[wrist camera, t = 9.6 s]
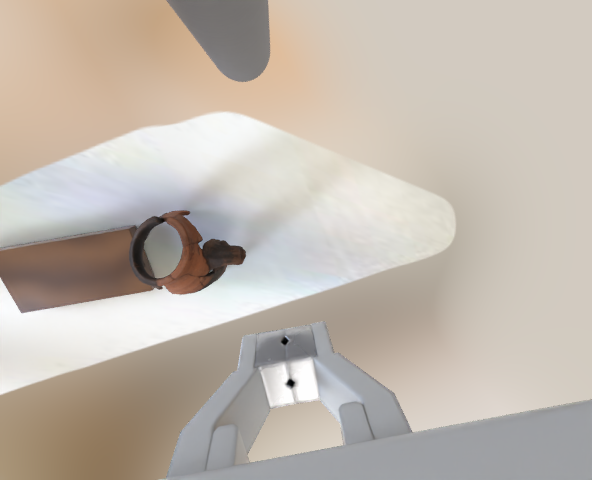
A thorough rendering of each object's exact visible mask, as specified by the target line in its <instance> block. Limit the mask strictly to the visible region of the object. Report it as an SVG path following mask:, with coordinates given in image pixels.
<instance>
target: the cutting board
mask: <svg viewBox="0 0 592 480" xmlns="http://www.w3.org/2000/svg"><path fill="white" fill-rule="evenodd" d="M136 230H137V229H136V226H135V225H133V226H127V227H121V228H115V229H109V230H104V231H98V232H92V233H86V234H80V235H74V236H68V237H62V238H56V239H51V240H45V241H39V242H33V243H27V244H21V245H15V246H9V247H3V248H0V278H1V279H2V281H3V283H4V284H5V286H6V288H7V289H8V291H9V293H10V295H11V296H12V298H13V300H14V301H15V303H16V305H17V306H18V308H19V310H20V312H21V313H25V312H31V311H37V310H42V309H48V308H54V307H60V306H65V305H71V304H77V303H83V302H88V301H94V300H100V299H106V298H111V297H117V296H123V295H129V294H134V293H140V292H146V291H152V290H153V289H154V288H155V287H154V286H150V285H147V284H145V283H142V282H141V281H140V280H139V279H138V278H137V277H136V276H135V274H134V272H133V270H132V267H131V266H130V262H129V249H130V243H131V241H132V238H133V237H134V234H135V232H136ZM143 261H144V263H145V267H144V268H145V270H146V272H147V273H148V274H149V275H150V276H152V277H154V274H153V272H152V269H151V266H150V264H149V261H148V258H147V256H146V253H145V250H144V248H143ZM154 278H155V277H154Z"/></svg>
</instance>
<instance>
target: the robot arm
mask: <svg viewBox="0 0 592 480" xmlns="http://www.w3.org/2000/svg"><path fill="white" fill-rule="evenodd" d="M316 400H321V402H322V403H323V404H324V406H325V407H326V408H327V409H328V410H329V411H330V413H331V414H332V415H333V416H334V417H335V418H336V420H337V421H338V422H339V423H340V425H341V433H342V440H343V446H337V447H332V448H327V449H321V450H316V451H310V452H306V453H300V454H295V455H289V456H284V457H278V458H273V459H267V460H262V461H257V462H252V463H250V461H249V458H248V453H249V451H250V449H251V447H252V445H253V443H254V441H255V439H256V437H257V435H258V434H259V431H260V429H261V428H262V426H263V424H264V422H265V420H266V418H267V416H268V414H269V412H270V409H273V408H277V407H282V406H287V405H291V404H295V403H303V402H310V401H316ZM160 480H592V399H590V400H585V401H580V402H574V403H569V404H564V405H558V406H553V407H547V408H542V409H537V410H531V411H526V412H520V413H515V414H510V415H505V416H499V417H494V418H488V419H483V420H477V421H472V422H467V423H461V424H456V425H450V426H445V427H439V428H434V429H429V430H424V431H418V432H412V430H411V428H410V426H409V424H408V421H407V419H406V417H405V415H404V413H403V411H402V409H401V407H400V404H399V402H398V400H397V398H396V396H395V394H394V393H393V392H392V391H390V390H389V389H388V388H386V387H385V386H383V385H382V384H381V383H379V382H378V381H377V380H375V379H374V378H372V377H371V376H370V375H368V374H367V373H366V372H364V371H363V370H362V369H360V368H359V367H358V366H356V365H355V364H353V363H352V362H351V361H349V360H348V359H347V358H345V357H344V356H342V355H341V354H340V353H334V351H333V347H332V343H331V339H330V336H329V332H328V329H327V325H326V322H325V321H323V322H318V323H314V324H311V325H305V326H300V327H295V328H289V329H282V330H276V331H269V332H263V333H258V334H251V335H245V336H244V337H243V338H242V344H241V351H240V357H239V363H238V370H237V371H234V372H233V373H232V374H231V375H230V376H229V377H228V378H227V379H226V380H225V382H224V383H223V384H222V385H221V386H220V387H219V389H218V390H217V391H216V392H215V393H214V394H213V395H212V397H211V398H210V399H209V400H208V401H207V402H206V403H205V405H204V406H203V407H202V408H201V409H200V410H199V411H198V413H197V414H196V415H195V416H194V417H193V418H192V420H191V421H190V422H189V423H188V424H187V425H186V426H185V428H184V429H183V430H182V431H181V432H180V435H179V439H178V442H177V445H176V448H175V451H174V454H173V457H172V460H171V464H170V467H169V470H168V473H167V476H166V478H165V479H160Z"/></svg>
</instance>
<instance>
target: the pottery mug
mask: <svg viewBox="0 0 592 480" xmlns="http://www.w3.org/2000/svg"><path fill="white" fill-rule="evenodd" d="M189 214H190V212H189V211H172V212H169V213H165V214H163V215H162V216H160V217H155V216H153V217H151V218H149V219H147V220H146V221H145V222H144V223H142V224H141V225H140V226H139V227H138V228H137V230H136V232H135V234H134V237H133V238H132V241H131V243H130V249H129V262H130V266H131V267H132V270H133V272H134V274H135V276H136V277H137V278H138V279H139V280H140V281H141V282H142V283H145V284H147V285H150V286H154V287H155V288H157V289H159V290H160V289H163V288H162V287H161V286H163V285H164V286H165V287H166V289H168V291H169V292H171V293H172V294H189V293H194V292H198V291H200V290H202V289H204V288H206V287H208V286H209V285H210V284H212V283H213V282H215V281H216V280H218V279H219V278H220V277H221V276H222V274H223V273H224V272H225V269H226V267H227V265H240V264H242V263H243V261H244V259H245V257H246V252H245V250H243V248H242V247H240V246H230V245H229V244H228V243H227V242H226V241H224V240H223V241H220V240H215V239H211V240H209V241H207V242H206V243H205V244H204V245H203V249H201V248H200V247H199V245H198V243H199V242H201V241H202V240H203V239H202V237H201V235H200V234H199V232H198V231H197V229H196V228H195V226H194V225H192V224H191V223H190V222H189V220H188V219H186V218H185V217H184V215H189ZM163 222H167V223H168V224H169V225H171V226H173V227H174V228H175V229H176V230H177V231H178V233H179V235H180V238H181V241H182V245H183V250H182V256H181V259H180V262H179V264H178V266H177V267H176V269H175V270H174V271H173V272H172V273H171V274H170V275H168V276H166V277H164V278H159V279H157V278H154V277H152V276H150V275H149V274H148V273H147V272H146V270H145V268H144V267H145V263H144V261H143V248H144V242H145V240H146V238H147V236H148V235H149V233H150V231H151V230H152V229H153V228H154V227H155V226H157V225H159V224H161V223H163ZM212 269H213V271H212V272H210V273H209V271H210V270H212Z"/></svg>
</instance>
